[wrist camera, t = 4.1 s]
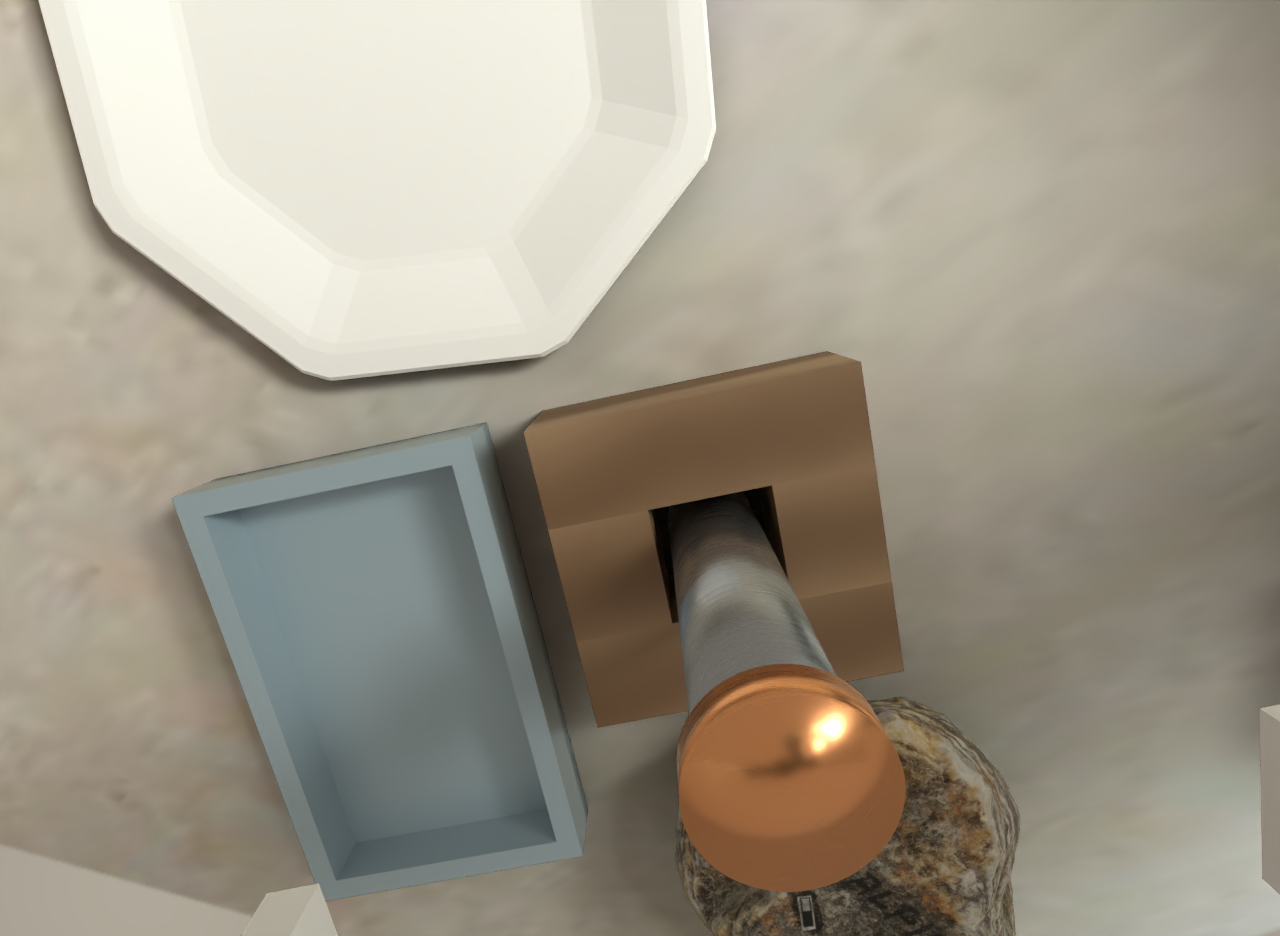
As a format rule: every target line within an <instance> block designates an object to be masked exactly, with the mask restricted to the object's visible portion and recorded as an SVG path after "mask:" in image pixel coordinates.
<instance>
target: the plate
mask: <svg viewBox="0 0 1280 936" xmlns="http://www.w3.org/2000/svg"><path fill="white" fill-rule="evenodd" d="M38 2H39V5H40V9H41V13H42V16H43V20H44V24H45V27H46V31H47V35H48V38H49V42H50V46H51V49H52V53H53V57H54V60H55V64H56V68H57V71H58V75H59V79H60V83H61V86H62V90H63V94H64V97H65V101H66V105H67V108H68V112H69V116H70V119H71V123H72V127H73V130H74V134H75V138H76V141H77V145H78V149H79V152H80V156H81V160H82V163H83V167H84V171H85V174H86V178H87V182H88V185H89V189H90V193H91V196H92V200H93V204H94V206H95V208H96V209H97V210H98V212H99V213H100V215H101V216H102V218H103V219H104V221H105V222H106V224H107V225H108V226H109V228H110V229H111V231H112V232H113V233H114V234H115V235H117V236H118V237H119V238H121V239H122V240H123V241H125V242H126V243H127V244H129V245H130V246H132V247H133V248H134V249H136V250H137V251H138V252H140V253H141V254H142V255H144V256H145V257H146V258H148V259H149V260H150V261H152V262H153V263H155V264H156V265H157V266H159V267H160V268H161V269H163V270H164V271H165V272H167V273H168V274H169V275H171V276H172V277H173V278H175V279H176V280H178V281H179V282H180V283H182V284H183V285H184V286H186V287H187V288H188V289H190V290H191V291H192V292H194V293H195V294H197V295H198V296H199V297H201V298H202V299H203V300H205V301H206V302H207V303H209V304H210V305H211V306H213V307H214V308H215V309H217V310H218V311H220V312H221V313H222V314H224V315H225V316H226V317H228V318H229V319H230V320H232V321H233V322H234V323H236V324H237V325H238V326H240V327H241V328H243V329H244V330H245V331H247V332H248V333H249V334H251V335H252V336H253V337H255V338H256V339H257V340H259V341H260V342H261V343H263V344H264V345H266V346H267V347H268V348H270V349H271V350H272V351H274V352H275V353H276V354H278V355H279V356H280V357H282V358H283V359H285V360H286V361H287V362H289V363H290V364H291V365H293V366H294V367H295V368H297V369H298V370H299V371H301V372H302V373H304V374H308V375H311V376H315V377H319V378H322V379H326V380H329V381H335V380H344V379H353V378H361V377H370V376H379V375H388V374H397V373H406V372H414V371H423V370H432V369H441V368H450V367H459V366H467V365H476V364H485V363H494V362H503V361H511V360H520V359H529V358H538V357H544V356H546V355H547V354H549V353H551V352H553V351H554V350H556V349H558V348H560V347H562V346H563V345H565V344H567V343H568V342H569V341H570V339H571V338H572V337H573V335H574V334H575V333H576V332H577V330H578V329H579V328H580V326H581V325H582V324H583V322H584V321H585V320H586V318H587V317H588V316H589V315H590V313H591V312H592V311H593V309H594V308H595V307H596V305H597V304H598V303H599V301H600V300H601V299H602V298H603V296H604V295H605V294H606V292H607V291H608V290H609V288H610V287H611V286H612V284H613V283H614V282H615V281H616V279H617V278H618V277H619V275H620V274H621V273H622V271H623V270H624V269H625V267H626V266H627V265H628V264H629V262H630V261H631V260H632V258H633V257H634V256H635V254H636V253H637V252H638V250H639V249H640V248H641V247H642V245H643V244H644V243H645V241H646V240H647V239H648V237H649V236H650V235H651V234H652V232H653V231H654V230H655V228H656V227H657V226H658V224H659V223H660V222H661V220H662V219H663V218H664V217H665V215H666V214H667V213H668V211H669V210H670V209H671V207H672V206H673V205H674V203H675V202H676V201H677V200H678V198H679V197H680V196H681V194H682V193H683V192H684V190H685V189H686V188H687V186H688V185H689V184H690V183H691V181H692V180H693V179H694V177H695V176H696V175H697V173H698V172H699V171H700V169H701V168H702V167H703V166H704V164H705V163H706V162H707V159H708V156H709V153H710V149H711V146H712V142H713V139H714V135H715V132H716V120H715V108H714V95H713V83H712V71H711V58H710V46H709V34H708V21H707V9H706V0H38Z"/></svg>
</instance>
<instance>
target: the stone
mask: <svg viewBox="0 0 1280 936" xmlns="http://www.w3.org/2000/svg"><path fill="white" fill-rule="evenodd" d="M868 703H869V704H870V705H871V707H872V708H873V710H874V712H875V714H876V715H877V717H878V719H879V721H880V723H881V724H882V726H883V728H884V730H885V732H886V733H887V735H888V737H889V739H890V741H891V742H892V744H893V746H894V748H895V750H896V752H897V754H898V756H899V759H900V761H901V764H902V767H903V772H904V776H905V788H906V792H905V803H904V808H903V812H902V816H901V818H900V821H899V823H898V826H897V828H896V830H895V832H894V834H893V835H892V837H891V839H890V840H889V842H888V843H887V844H886V846H885V847H884V848H883V850H882V851H881V852H880V853H879V854H878V855H877V856H876V857H875V858H874V859H873V860H872V861H871V862H869V863H868V864H867V865H866V866H864V867H863V868H862V869H860V870H859V871H857V872H856V873H854V874H852V875H851V876H849V877H847V878H845V879H843V880H841V881H838V882H836V883H833V884H830V885H827V886H825V887H821V888H816V889H812V890H806V891H797V892H778V891H769V890H763V889H759V888H754V887H751V886H748V885H745V884H742V883H740V882H738V881H735V880H733V879H731V878H729V877H727V876H726V875H724V874H723V873H721V872H720V871H718V870H717V869H715V868H714V867H713V866H712V865H711V864H710V863H708V862H707V861H706V860H705V859H704V858H703V856H702V855H701V854H700V853H699V852H698V851H697V849H696V848H695V846H694V845H693V843H692V842H691V840H690V838H689V836H688V834H687V832H686V830H685V827H684V824H683V821H682V817H681V811H680V805H679V813H678V820H677V826H676V838H677V845H676V853H675V859H676V863H677V867H678V871H679V875H680V878H681V882H682V885H683V887H684V890H685V892H686V895H687V897H688V899H689V901H690V902H691V904H692V906H693V908H694V910H695V911H696V913H697V914H698V916H699V917H700V919H701V920H702V921H703V923H704V924H705V926H706V927H708V928H709V929H710V930H711V931H712V933H713V935H714V936H1016V932H1015V918H1014V909H1013V904H1012V896H1013V890H1012V885H1011V881H1010V874H1011V871H1012V867H1013V863H1014V854H1015V850H1016V846H1017V843H1018V839H1019V831H1020V815H1019V811H1018V807H1017V805H1016V803H1015V802H1014V800H1013V798H1012V796H1011V794H1010V792H1009V789H1008V786H1007V784H1006V782H1005V781H1004V779H1003V777H1002V775H1001V774H1000V772H999V771H998V770H997V769H995V767H994V766H993V765H992V764H991V763H990V762H989V761H988V760H987V759H986V757H985V756H984V755H983V753H982V752H981V751H980V750H979V749H978V748H977V747H976V746H975V745H974V744H973V743H972V742H971V741H969V740H967V739H966V738H965V737H964V736H963V734H962V733H961V732H960V731H959V730H958V729H957V728H956V727H955V726H954V725H953V724H952V722H951V721H950V720H949V719H947V718H946V717H945V716H944V715H943V714H941V713H937V712H935V711H933V710H932V709H930V708H928V707H926V706H924V705H922V704H920V703H917V702H915V701H912V700H909V699H906V698H902V697H898V698H897V697H894V698H891V699H887V700H880V701H868Z"/></svg>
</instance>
